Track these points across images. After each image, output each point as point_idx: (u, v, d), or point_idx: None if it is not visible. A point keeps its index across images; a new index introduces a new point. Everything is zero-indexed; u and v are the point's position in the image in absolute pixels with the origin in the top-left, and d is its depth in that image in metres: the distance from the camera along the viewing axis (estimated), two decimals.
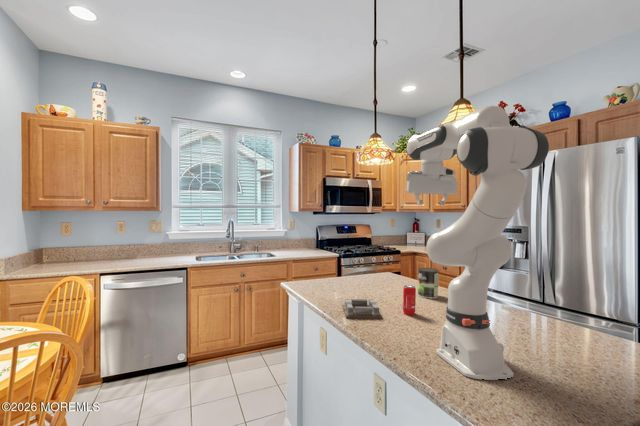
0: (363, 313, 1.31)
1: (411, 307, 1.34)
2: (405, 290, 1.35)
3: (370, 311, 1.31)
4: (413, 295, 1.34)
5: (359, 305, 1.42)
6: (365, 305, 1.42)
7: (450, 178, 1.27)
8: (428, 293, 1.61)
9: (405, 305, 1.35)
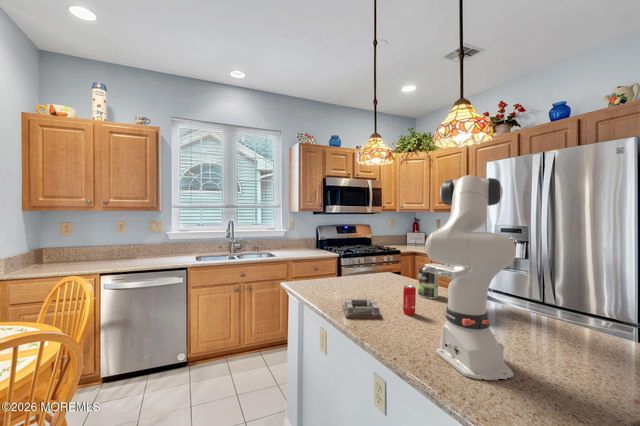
0: (363, 313, 1.31)
1: (411, 307, 1.34)
2: (405, 290, 1.35)
3: (370, 311, 1.31)
4: (413, 295, 1.34)
5: (359, 305, 1.42)
6: (365, 305, 1.42)
7: (461, 268, 1.40)
8: (428, 293, 1.61)
9: (405, 305, 1.35)
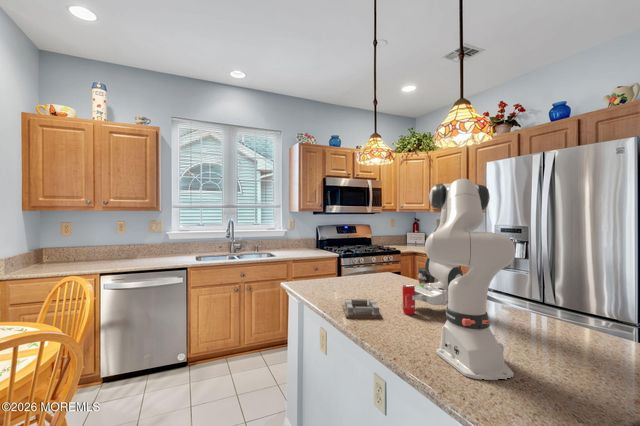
0: (363, 313, 1.31)
1: (411, 306, 1.35)
2: (404, 289, 1.36)
3: (370, 311, 1.31)
4: (412, 294, 1.35)
5: (359, 305, 1.42)
6: (365, 305, 1.42)
7: (438, 292, 1.35)
8: None
9: (405, 304, 1.36)
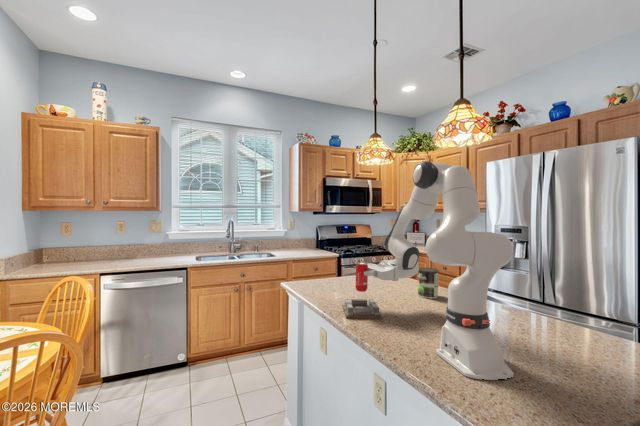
0: (363, 313, 1.31)
1: (363, 283, 1.35)
2: (357, 267, 1.36)
3: (370, 311, 1.31)
4: None
5: (359, 305, 1.42)
6: (365, 305, 1.42)
7: (390, 267, 1.35)
8: (428, 293, 1.61)
9: (357, 282, 1.36)
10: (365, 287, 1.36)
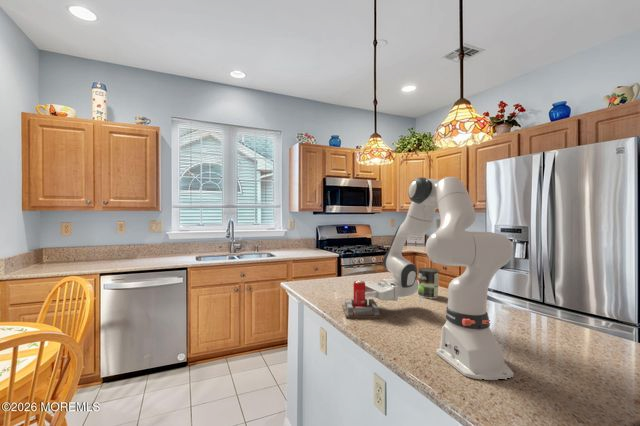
0: (363, 313, 1.31)
1: (361, 301, 1.37)
2: (354, 285, 1.38)
3: (370, 311, 1.31)
4: (362, 290, 1.37)
5: None
6: (365, 305, 1.42)
7: (389, 287, 1.35)
8: (428, 293, 1.61)
9: (355, 300, 1.38)
10: (363, 305, 1.37)
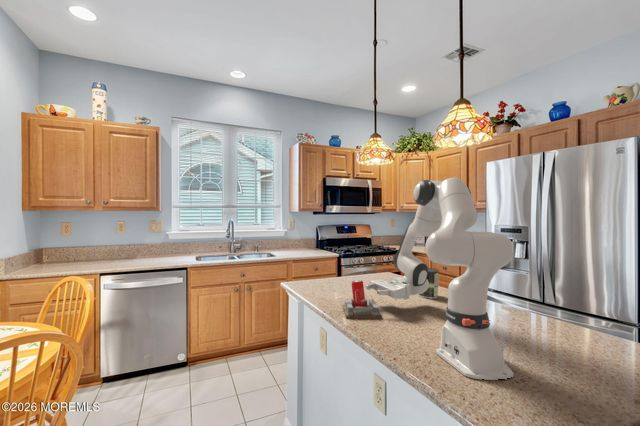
0: (363, 313, 1.31)
1: (361, 300, 1.37)
2: (353, 285, 1.38)
3: (370, 311, 1.31)
4: (361, 289, 1.37)
5: None
6: None
7: (401, 286, 1.38)
8: (428, 293, 1.61)
9: (355, 300, 1.37)
10: (363, 304, 1.37)
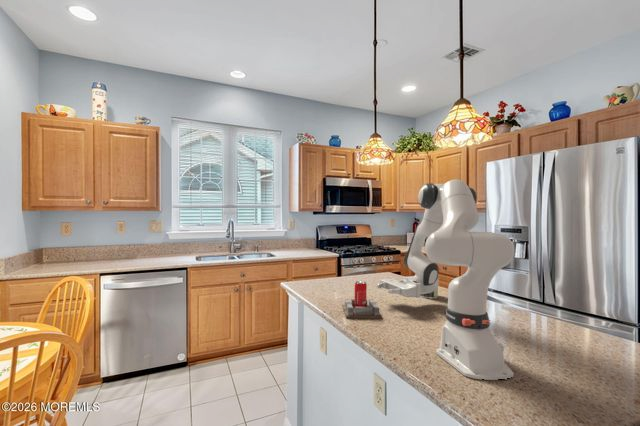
0: (363, 313, 1.31)
1: (362, 302, 1.36)
2: (356, 286, 1.37)
3: (370, 311, 1.31)
4: (364, 291, 1.36)
5: None
6: None
7: (412, 285, 1.40)
8: (428, 293, 1.61)
9: (356, 301, 1.37)
10: (364, 306, 1.37)
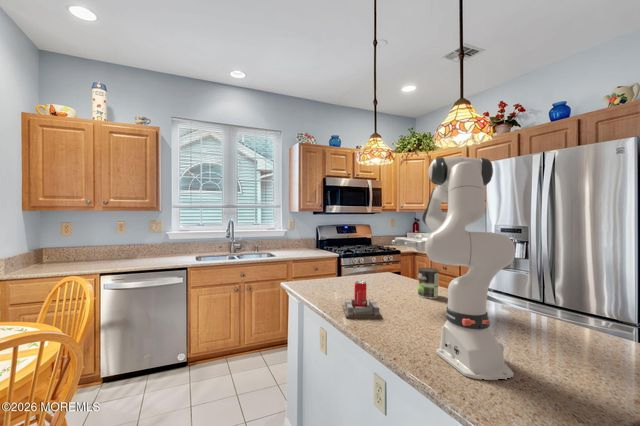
0: (363, 313, 1.31)
1: (362, 302, 1.36)
2: (356, 286, 1.37)
3: (370, 311, 1.31)
4: (364, 291, 1.36)
5: None
6: None
7: None
8: (428, 293, 1.61)
9: (356, 301, 1.37)
10: (364, 306, 1.37)
